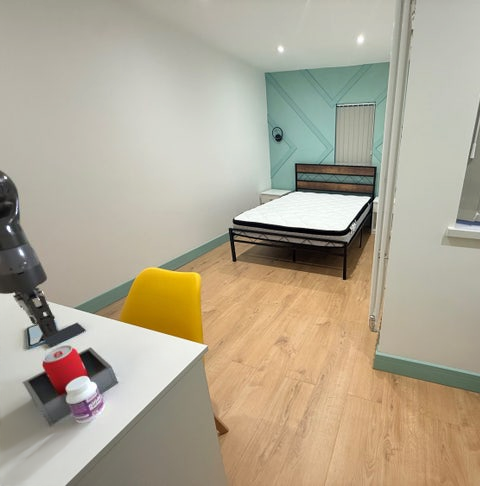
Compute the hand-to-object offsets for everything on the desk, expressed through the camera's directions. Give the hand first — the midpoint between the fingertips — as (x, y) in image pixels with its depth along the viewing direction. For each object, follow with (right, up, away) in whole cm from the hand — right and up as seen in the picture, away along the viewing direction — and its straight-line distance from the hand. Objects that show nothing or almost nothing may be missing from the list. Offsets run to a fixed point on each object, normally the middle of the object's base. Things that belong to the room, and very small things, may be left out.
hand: (45, 328), depth 61 cm
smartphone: (-31, -11, +28) cm, 44 cm away
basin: (0, -19, +7) cm, 20 cm away
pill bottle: (+9, -21, +2) cm, 23 cm away
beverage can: (0, -18, +7) cm, 20 cm away
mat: (-22, -11, +27) cm, 37 cm away
